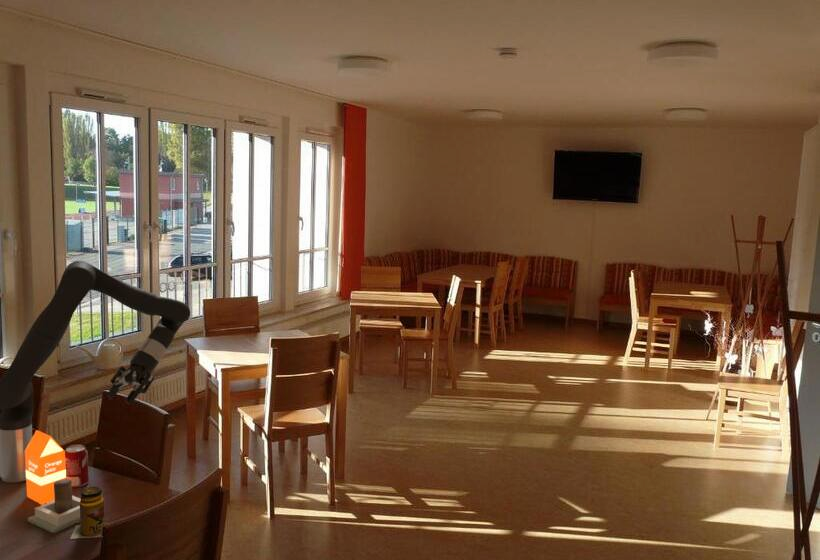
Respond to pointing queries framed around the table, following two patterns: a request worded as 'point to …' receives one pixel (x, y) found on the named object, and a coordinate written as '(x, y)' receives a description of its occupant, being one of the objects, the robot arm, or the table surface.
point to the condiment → (90, 514)
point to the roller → (63, 495)
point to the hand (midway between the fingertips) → (118, 400)
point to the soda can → (77, 465)
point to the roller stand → (56, 516)
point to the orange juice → (43, 467)
